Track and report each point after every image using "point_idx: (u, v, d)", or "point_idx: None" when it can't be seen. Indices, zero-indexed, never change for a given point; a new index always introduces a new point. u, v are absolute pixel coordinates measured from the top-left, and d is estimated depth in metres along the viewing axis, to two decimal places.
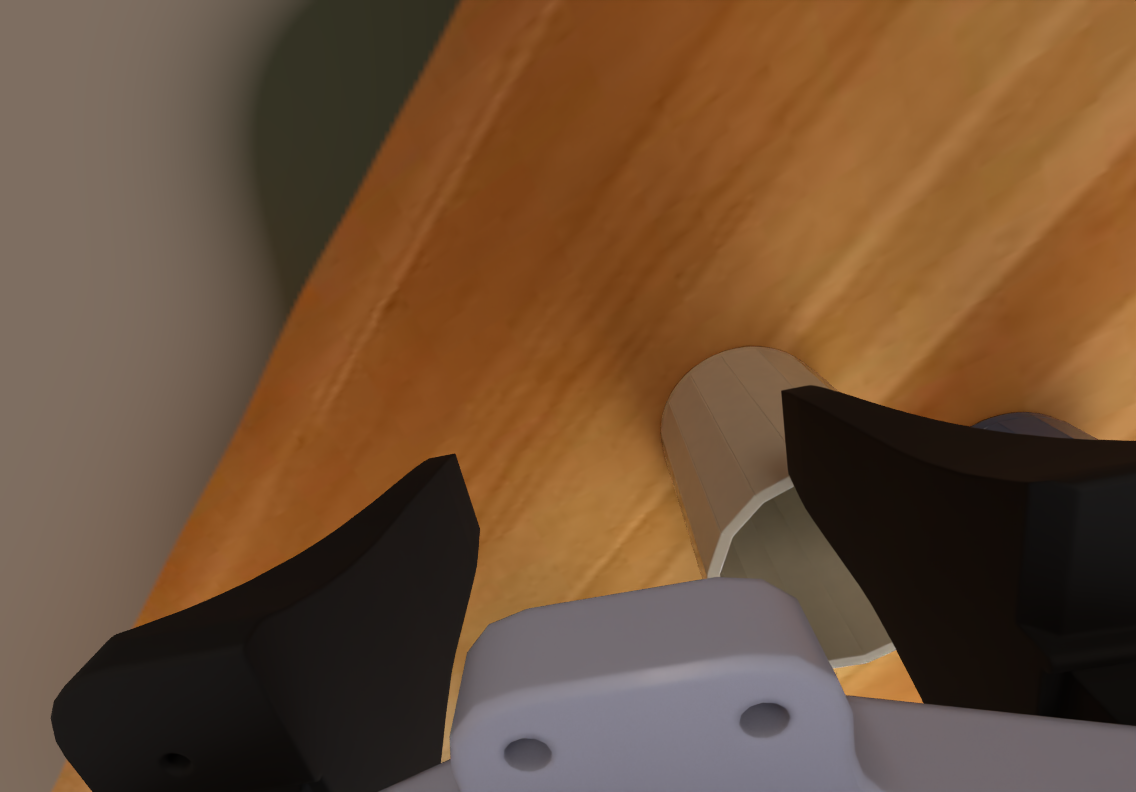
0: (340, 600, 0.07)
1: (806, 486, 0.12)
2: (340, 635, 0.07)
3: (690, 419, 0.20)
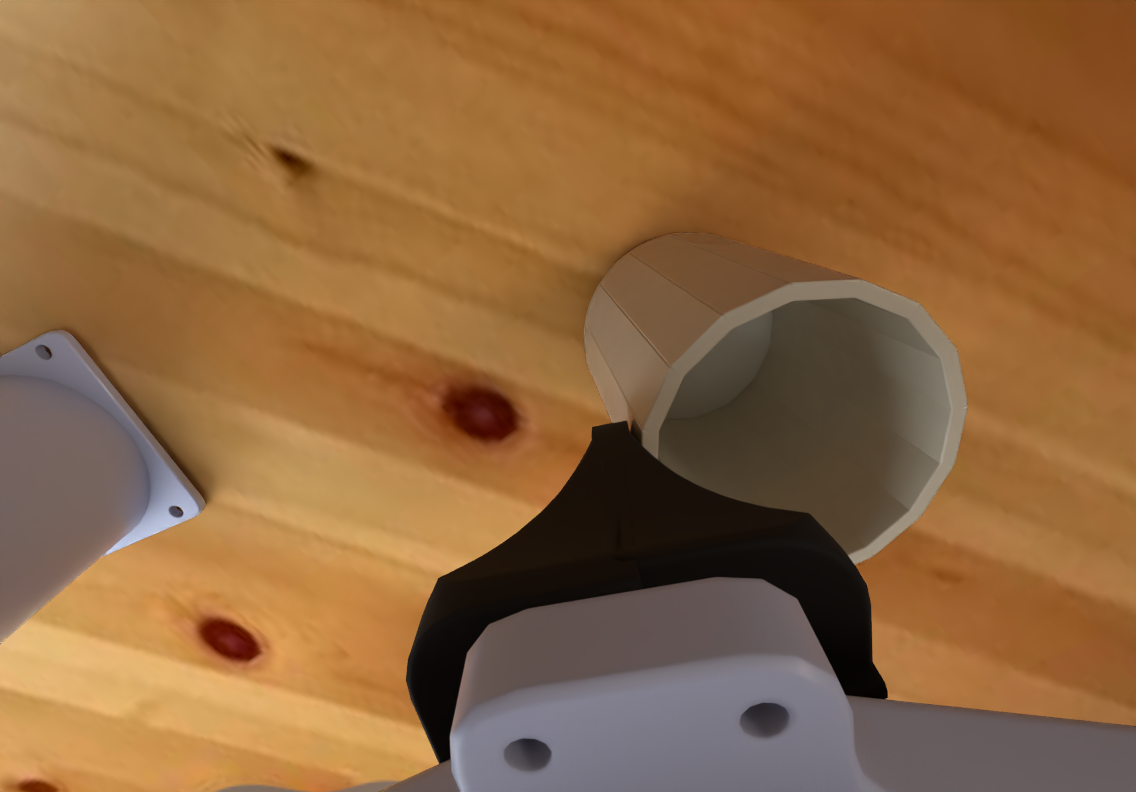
0: None
1: None
2: None
3: None
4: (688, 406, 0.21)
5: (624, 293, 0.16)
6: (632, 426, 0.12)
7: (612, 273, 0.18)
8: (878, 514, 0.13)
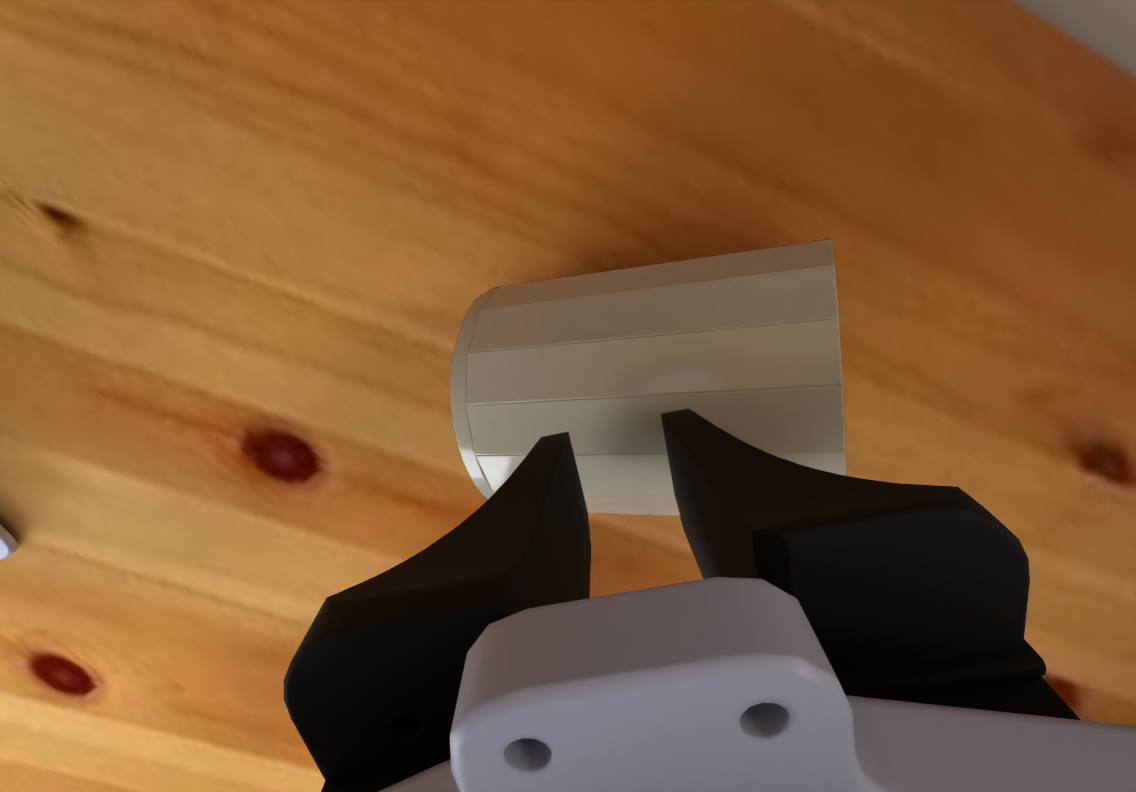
0: (535, 566, 0.07)
1: (681, 508, 0.12)
2: (539, 602, 0.07)
3: None
4: None
5: (570, 331, 0.14)
6: (797, 402, 0.12)
7: (480, 335, 0.15)
8: None
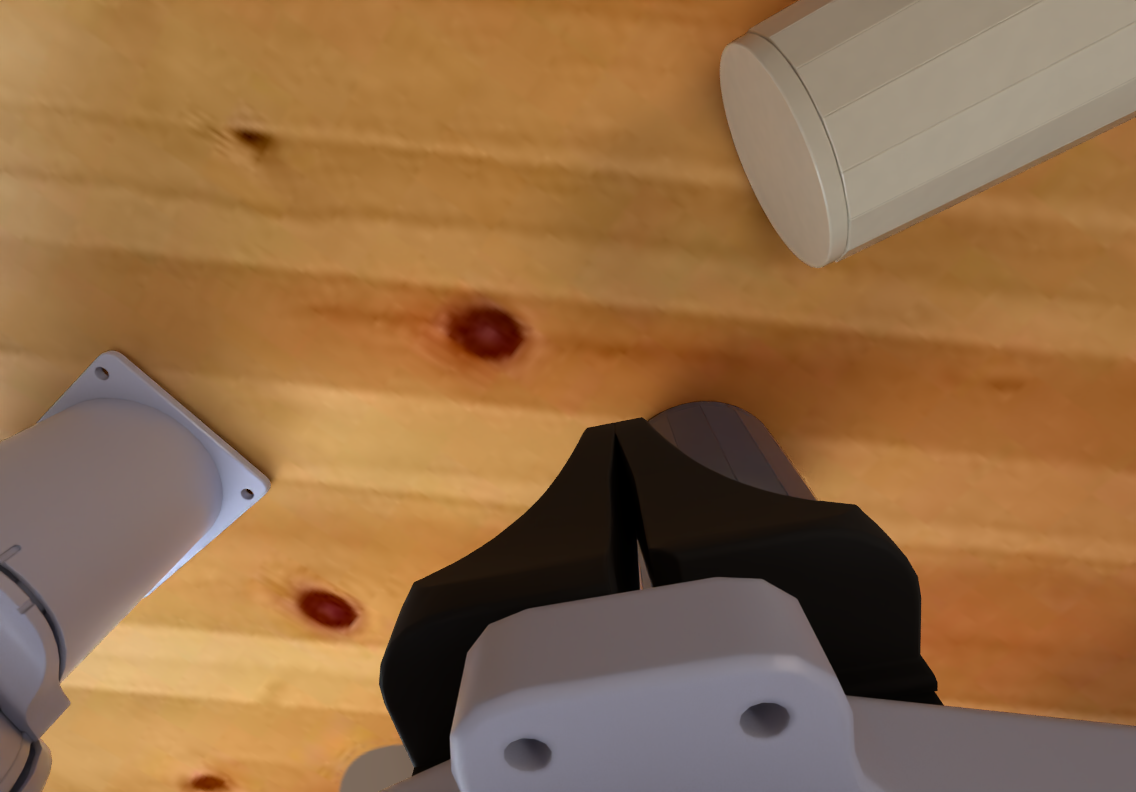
0: (615, 552, 0.07)
1: (633, 517, 0.12)
2: (621, 589, 0.07)
3: None
4: None
5: None
6: None
7: (795, 50, 0.14)
8: None
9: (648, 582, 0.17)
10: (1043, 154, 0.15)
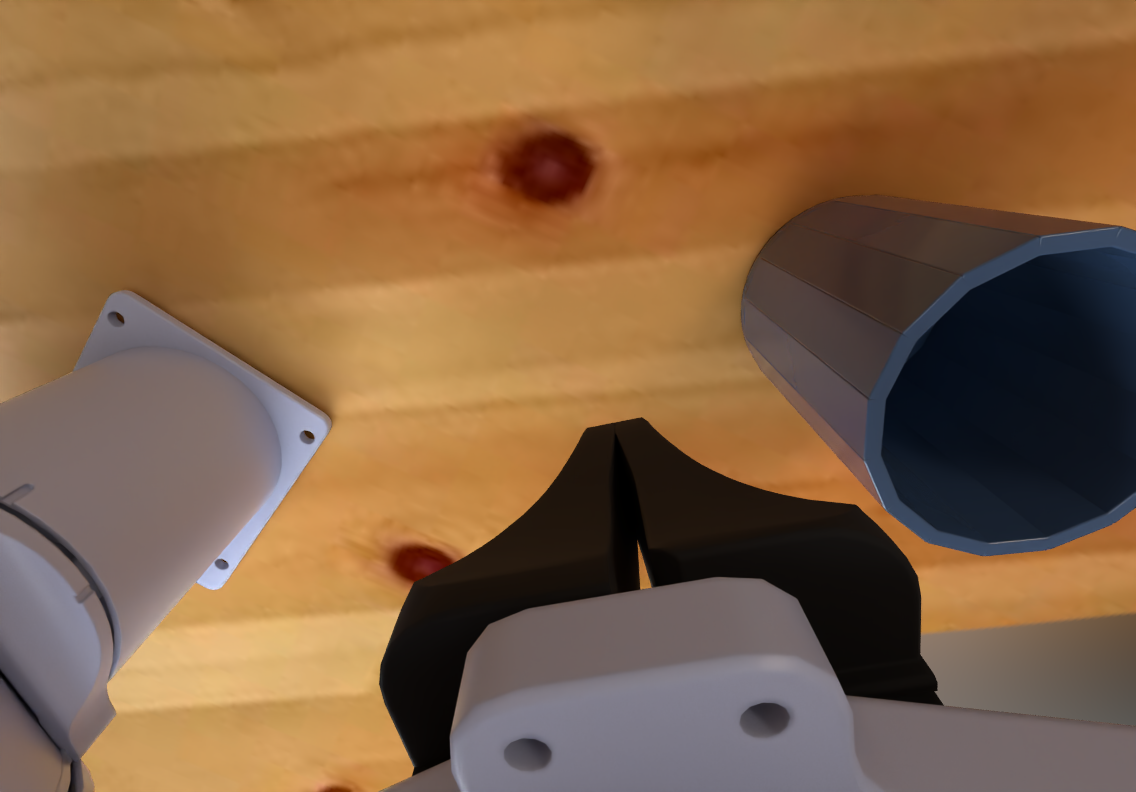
0: (615, 552, 0.07)
1: (633, 517, 0.12)
2: (621, 589, 0.07)
3: None
4: None
5: None
6: None
7: None
8: None
9: (856, 371, 0.12)
10: None
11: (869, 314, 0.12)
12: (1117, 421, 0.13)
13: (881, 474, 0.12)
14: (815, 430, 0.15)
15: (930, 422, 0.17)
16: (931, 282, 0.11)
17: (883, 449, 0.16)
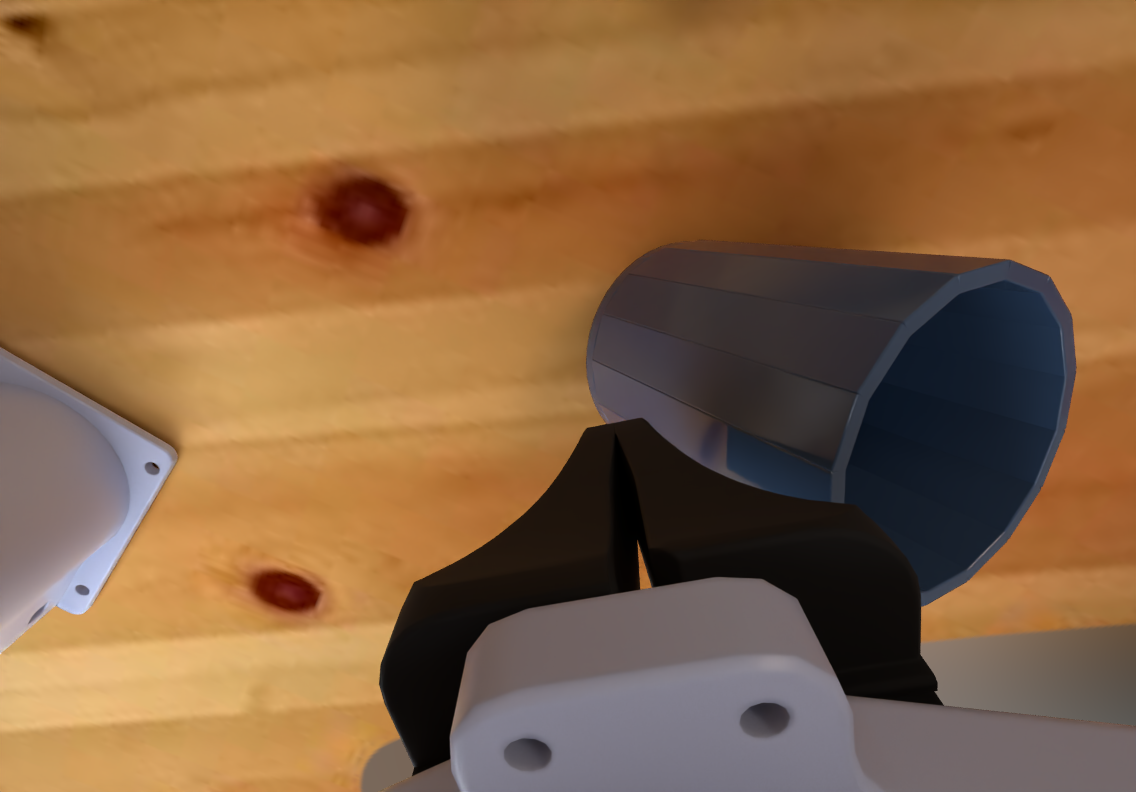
0: (615, 552, 0.07)
1: (633, 517, 0.12)
2: (621, 588, 0.07)
3: None
4: None
5: None
6: None
7: None
8: None
9: (799, 439, 0.10)
10: None
11: (796, 372, 0.10)
12: (976, 439, 0.13)
13: None
14: None
15: None
16: (865, 332, 0.10)
17: None
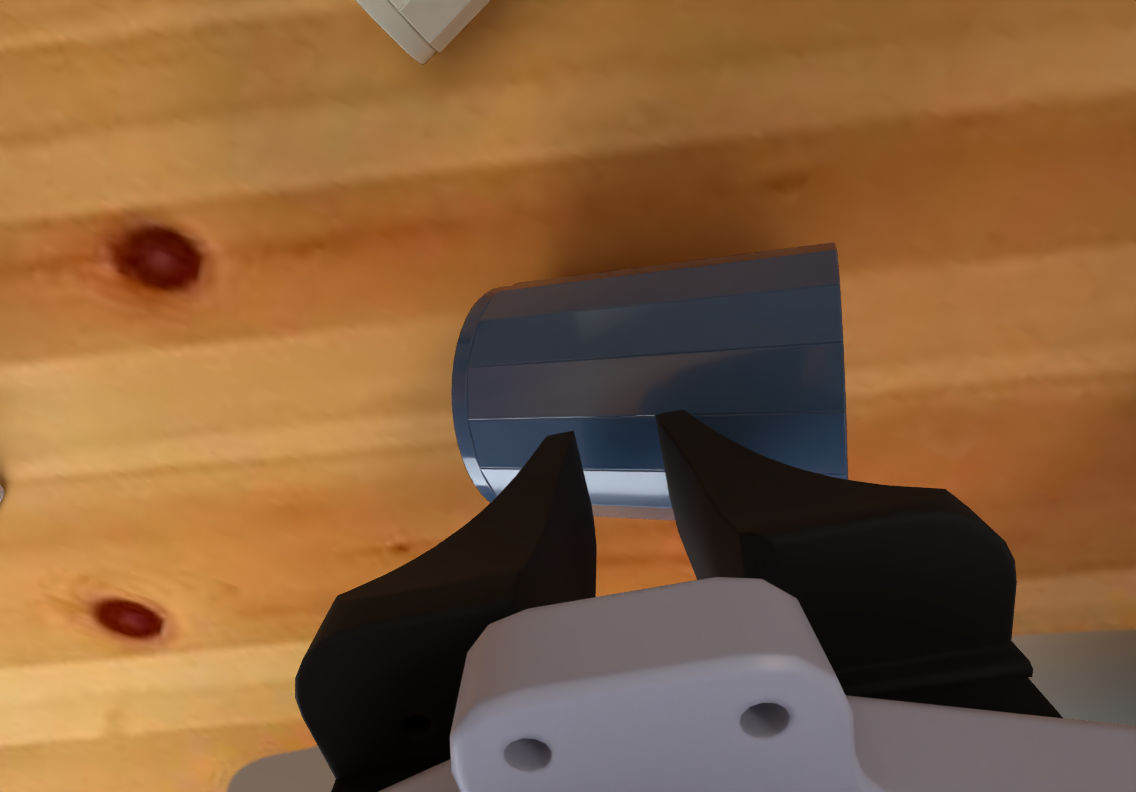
0: (544, 565, 0.07)
1: (675, 509, 0.12)
2: (549, 601, 0.07)
3: None
4: None
5: None
6: None
7: None
8: None
9: (800, 398, 0.11)
10: None
11: (771, 345, 0.12)
12: None
13: None
14: None
15: None
16: (812, 298, 0.12)
17: None
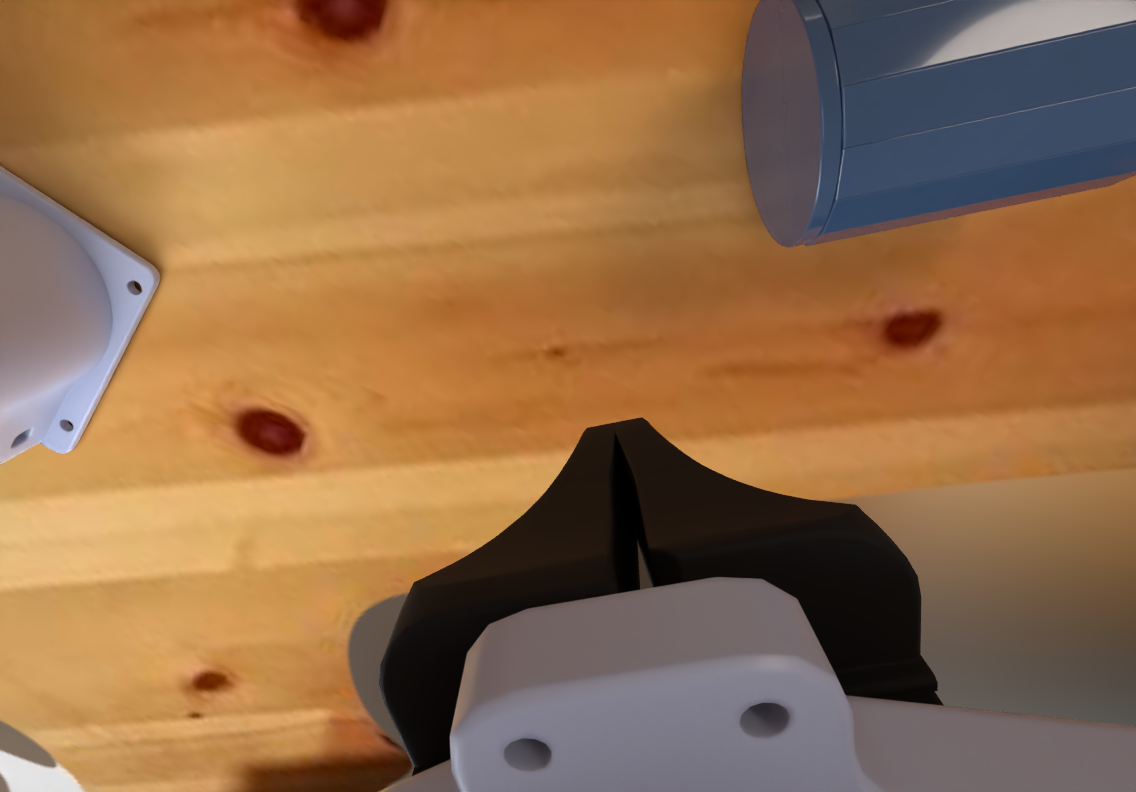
0: (615, 552, 0.07)
1: (633, 516, 0.12)
2: (621, 588, 0.07)
3: None
4: None
5: None
6: None
7: None
8: None
9: None
10: None
11: None
12: None
13: None
14: (1041, 155, 0.14)
15: None
16: None
17: None
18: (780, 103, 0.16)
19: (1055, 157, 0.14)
